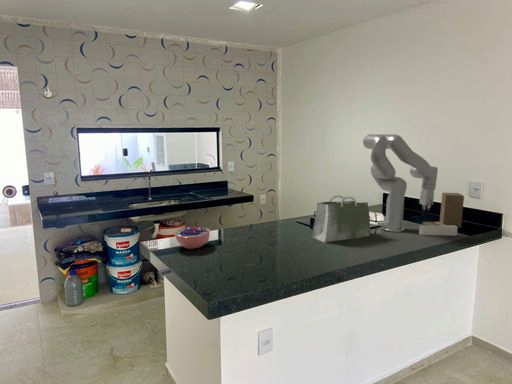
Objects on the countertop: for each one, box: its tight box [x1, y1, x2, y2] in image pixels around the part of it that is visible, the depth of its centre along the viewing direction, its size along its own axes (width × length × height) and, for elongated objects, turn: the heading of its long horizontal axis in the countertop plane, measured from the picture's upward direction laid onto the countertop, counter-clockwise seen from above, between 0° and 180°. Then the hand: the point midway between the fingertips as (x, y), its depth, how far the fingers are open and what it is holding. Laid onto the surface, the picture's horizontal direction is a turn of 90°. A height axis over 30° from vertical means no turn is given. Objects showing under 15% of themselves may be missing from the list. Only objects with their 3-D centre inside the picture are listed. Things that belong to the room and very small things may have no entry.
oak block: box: [421, 221, 446, 226], centre depth 223 cm, size 10×9×5 cm
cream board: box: [418, 224, 459, 237], centre depth 217 cm, size 20×3×5 cm, turn 86°
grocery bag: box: [310, 195, 372, 244], centre depth 212 cm, size 32×14×23 cm, turn 116°
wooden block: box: [439, 192, 465, 229], centre depth 236 cm, size 10×10×20 cm
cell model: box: [174, 226, 211, 250], centre depth 193 cm, size 17×20×11 cm
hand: (424, 216), depth 233 cm, fingers closed
